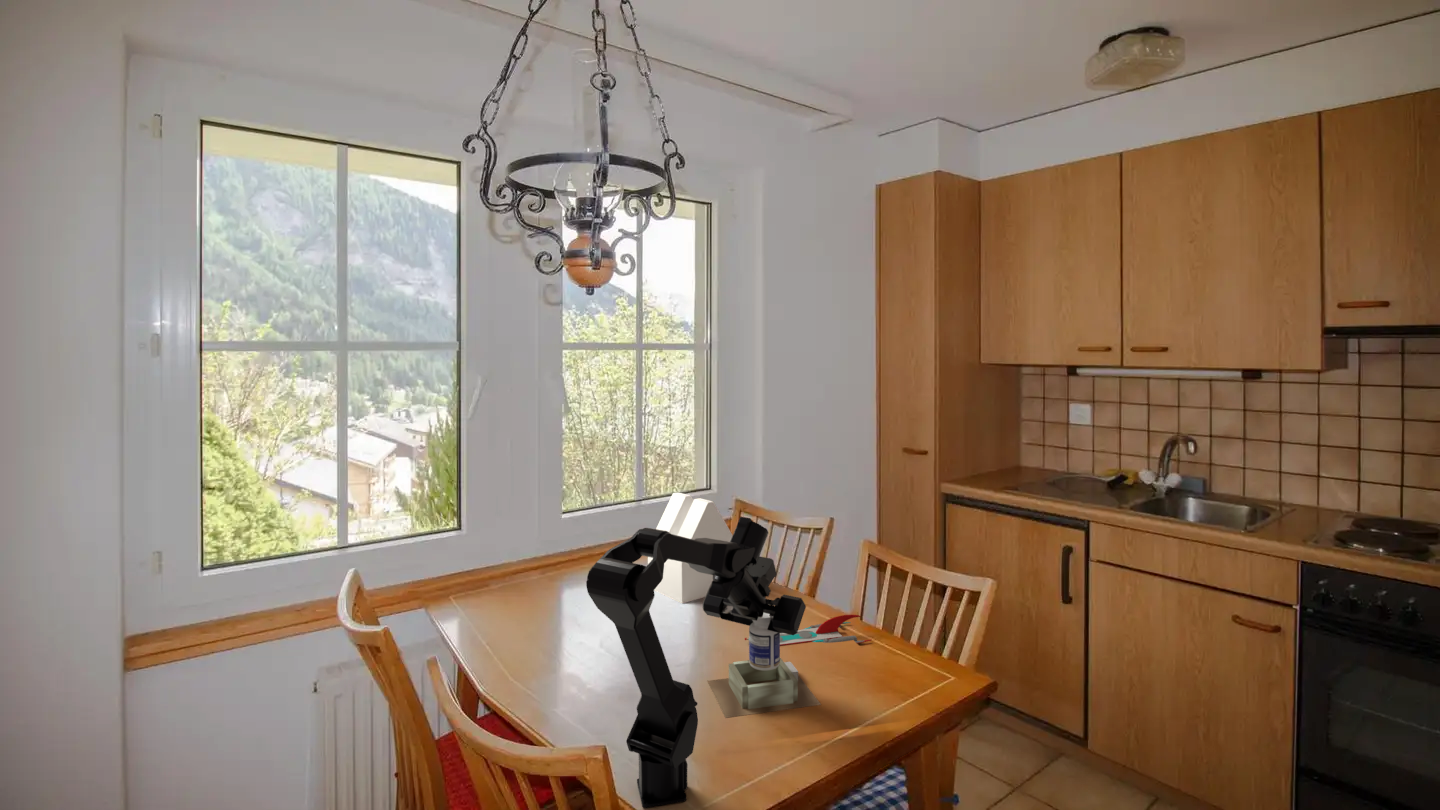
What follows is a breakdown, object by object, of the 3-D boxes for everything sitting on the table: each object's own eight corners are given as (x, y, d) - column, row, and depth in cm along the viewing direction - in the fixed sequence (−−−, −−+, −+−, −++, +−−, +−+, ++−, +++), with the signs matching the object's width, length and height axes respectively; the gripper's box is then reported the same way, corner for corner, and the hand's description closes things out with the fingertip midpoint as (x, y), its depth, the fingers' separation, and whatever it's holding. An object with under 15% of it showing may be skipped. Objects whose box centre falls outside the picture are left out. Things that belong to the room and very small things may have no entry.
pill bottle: (768, 655, 136) (768, 605, 135) (785, 667, 131) (786, 614, 130) (743, 662, 133) (743, 610, 132) (760, 674, 128) (760, 621, 127)
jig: (725, 723, 124) (725, 695, 123) (707, 685, 137) (706, 660, 137) (821, 709, 128) (821, 683, 128) (794, 674, 142) (794, 650, 141)
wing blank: (783, 683, 136) (783, 673, 136) (776, 673, 140) (776, 663, 140) (798, 681, 137) (798, 671, 137) (790, 671, 141) (790, 661, 141)
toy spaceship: (758, 672, 148) (757, 648, 147) (738, 649, 158) (737, 627, 158) (872, 643, 157) (871, 620, 156) (846, 624, 167) (844, 603, 167)
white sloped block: (682, 603, 181) (681, 507, 179) (648, 588, 192) (646, 497, 190) (738, 587, 193) (738, 496, 191) (703, 573, 205) (702, 488, 203)
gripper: (802, 554, 122) (826, 598, 132) (710, 539, 132) (740, 580, 142) (781, 613, 116) (808, 654, 126) (686, 592, 126) (719, 632, 136)
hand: (767, 627), depth 133 cm, fingers closed on pill bottle, 6 cm apart
